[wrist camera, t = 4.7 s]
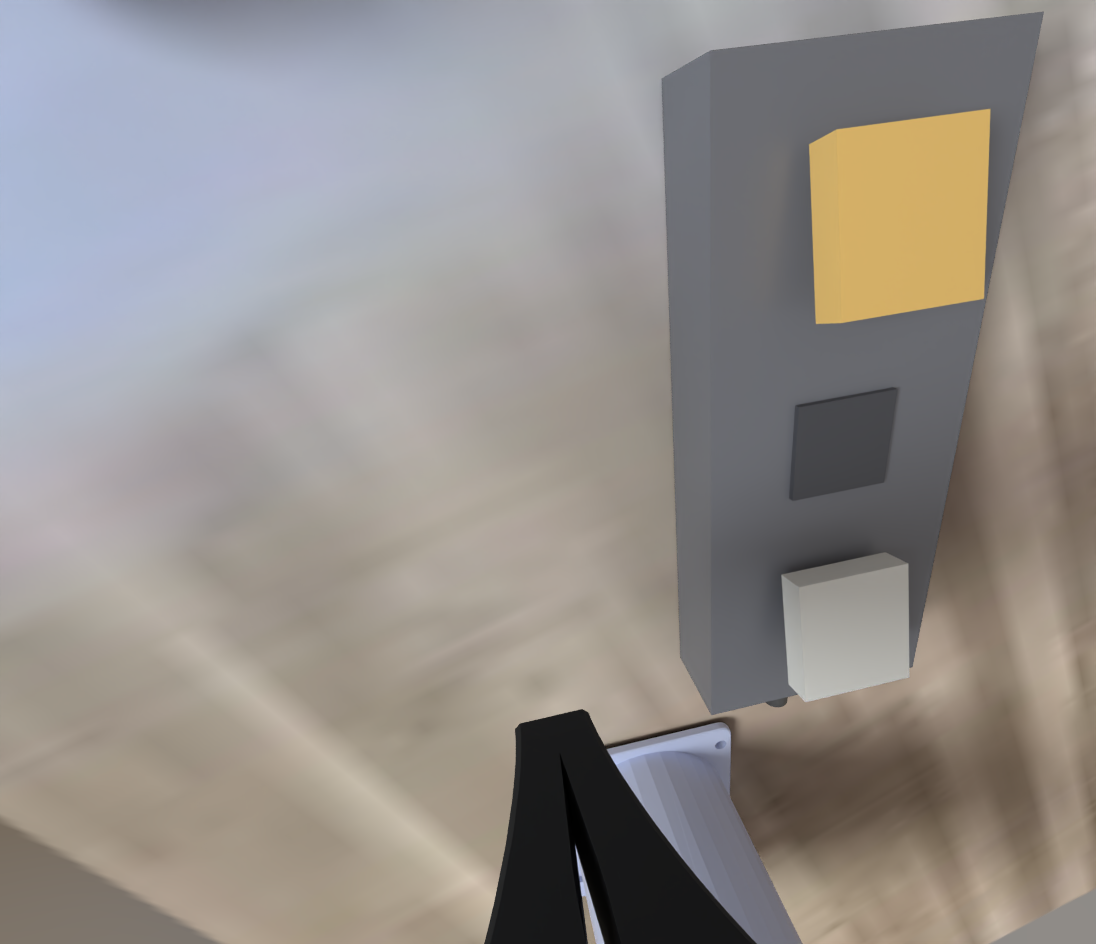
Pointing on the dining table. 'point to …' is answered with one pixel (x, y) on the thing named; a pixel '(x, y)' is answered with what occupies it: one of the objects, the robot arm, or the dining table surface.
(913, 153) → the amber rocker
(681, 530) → the power strip
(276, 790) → the dining table surface
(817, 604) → the white plug
